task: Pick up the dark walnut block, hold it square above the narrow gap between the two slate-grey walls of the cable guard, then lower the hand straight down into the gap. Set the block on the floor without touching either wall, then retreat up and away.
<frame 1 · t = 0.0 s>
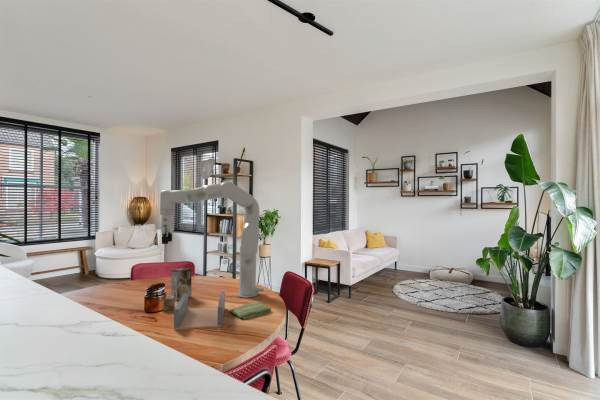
hand: (167, 242, 172), 31 cm above the table, fingers open, 9 cm apart
walnut block: (168, 309, 156), on the table
cable guard: (201, 318, 144), on the table
washcloth: (250, 313, 153), on the table
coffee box: (181, 298, 174), on the table
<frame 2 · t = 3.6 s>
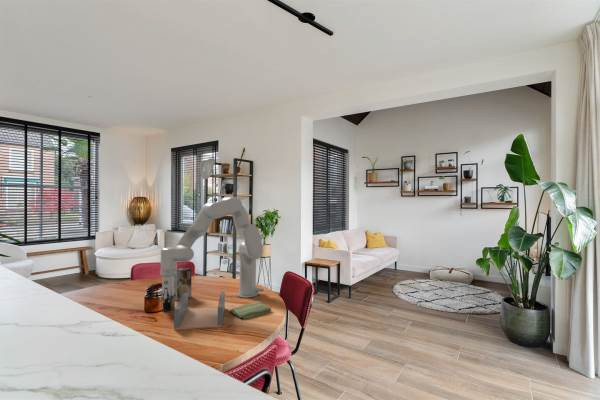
hand: (168, 307, 156), 1 cm above the table, fingers closed on walnut block, 5 cm apart
walnut block: (168, 309, 156), on the table, touching gripper
everything else where it was.
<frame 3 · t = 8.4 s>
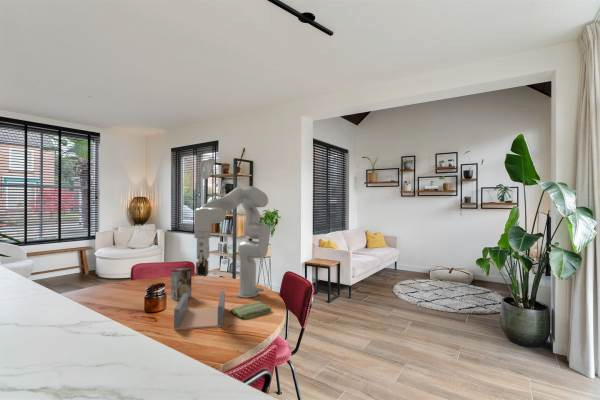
hand: (202, 272, 144), 21 cm above the table, fingers closed on walnut block, 5 cm apart
walnut block: (202, 274, 144), point 21 cm above the table, touching gripper
everything else where it was.
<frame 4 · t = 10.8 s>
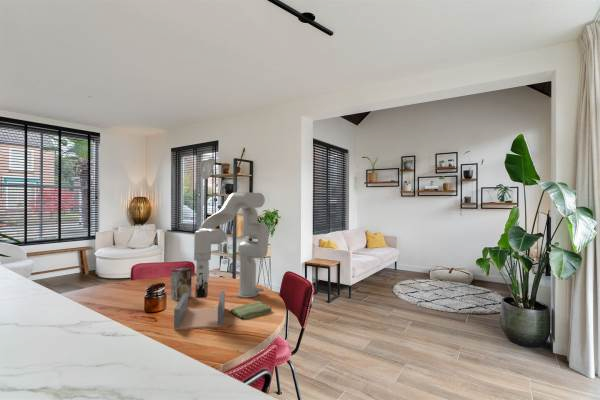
hand: (201, 294, 144), 11 cm above the table, fingers closed on walnut block, 5 cm apart
walnut block: (201, 296, 144), point 10 cm above the table, touching gripper
everything else where it was.
when the fingers open (3 cm above the table, at t = 13.1 s): walnut block drops 2 cm, resting on cable guard.
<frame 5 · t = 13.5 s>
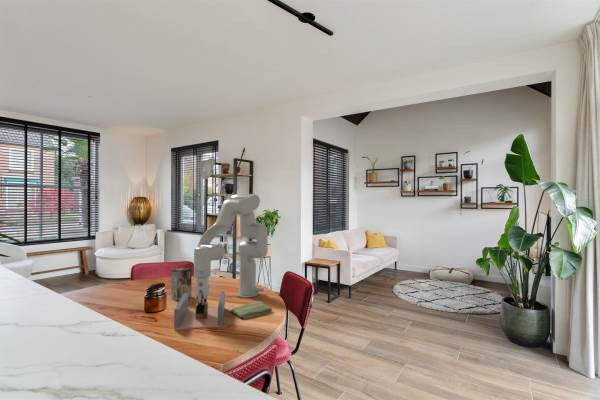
hand: (201, 309, 144), 4 cm above the table, fingers open, 9 cm apart
walnut block: (201, 316, 144), point 1 cm above the table, touching cable guard
cable guard: (201, 318, 144), on the table, touching walnut block
everything else where it was.
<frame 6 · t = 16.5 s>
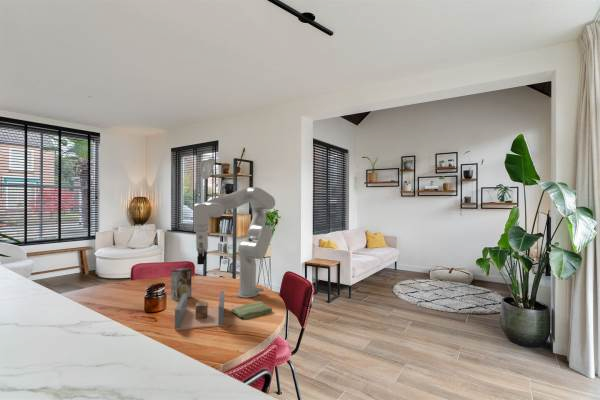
hand: (201, 262, 154), 24 cm above the table, fingers open, 9 cm apart
nothing on the table moved.
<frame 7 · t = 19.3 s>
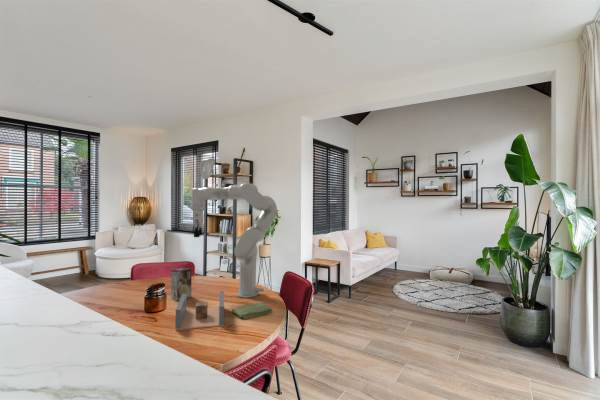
hand: (197, 236, 187), 33 cm above the table, fingers open, 9 cm apart
nothing on the table moved.
at the end: walnut block inside the target area on the cable guard (0.0 cm from its centre), point 1.0 cm above the cable guard's base; walnut block tilted 0°; cable guard moved 0.4 cm from its start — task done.
